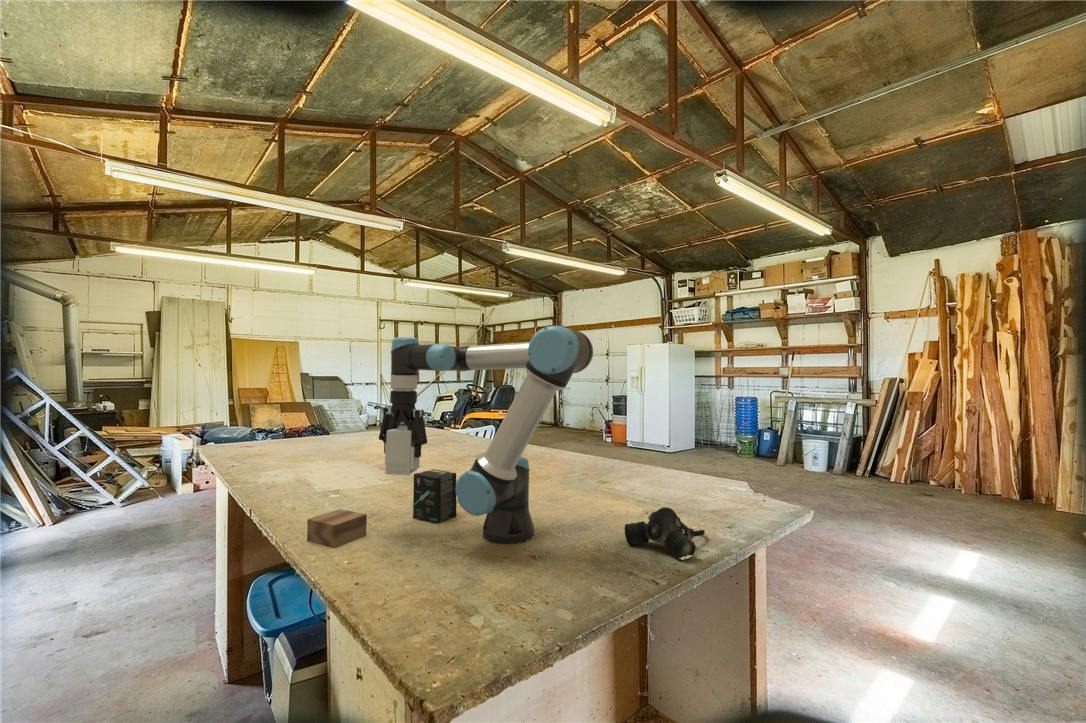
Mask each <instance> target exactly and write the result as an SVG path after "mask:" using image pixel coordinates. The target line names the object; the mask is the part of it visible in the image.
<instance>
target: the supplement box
mask: <svg viewBox="0 0 1086 723" xmlns="http://www.w3.org/2000/svg"><path fill="white" fill-rule="evenodd" d="M412 445H413V442H412V431H409V430H408V428H407V427H398V428H395V429H391V430H388V431H387V439H386V465H385V472H384V474H385V475H393V476H394V475H395V476H396V475H397V476H410V475H411V474H413V473H414V472H416V471H417V470H418V468H417V469H413V470H412V469H411V446H412Z"/></svg>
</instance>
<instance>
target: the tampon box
mask: <svg viewBox="0 0 1086 723" xmlns="http://www.w3.org/2000/svg"><path fill="white" fill-rule="evenodd" d="M456 483H457V472H453V471H447V470H440V469H430V470H429V469H428V470H425V471H422V472H418V473H417V472H416V473H414V474H413V495H412V496H413V497H412V498H413V499H412V500H413V502H412V506H413V507H412V508H413V509H412V519H415V520H420V521H424V522H428V523H432V524H439V523H441V522H445V521H448V520H450V519H453V518H456V517H457V516H458V514H457V495H456Z"/></svg>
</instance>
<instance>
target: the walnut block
mask: <svg viewBox="0 0 1086 723" xmlns="http://www.w3.org/2000/svg"><path fill="white" fill-rule="evenodd" d="M367 519H368V518H367V514H366V513H361V512H356V511H351V510H346V509H342V508H341V509H337V510H334V511H330V512H326V513H324V514H320V515H317V516H314V517H310V518H307V528H306V531H307V533H306V541H307V542H310V543H315V544H318V545H322V546H326V547H330V548H336V547H339V546H342V545H344V544H347V543H350V542H353V541H355V540H358V539H360V538H362V537H365V536H367V525H368V524H367Z"/></svg>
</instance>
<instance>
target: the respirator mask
mask: <svg viewBox="0 0 1086 723" xmlns="http://www.w3.org/2000/svg"><path fill="white" fill-rule="evenodd" d="M647 519H648V522H647V523H646V522H645V521H637V522H632V523H631V522H630V523H625V525H624V535H625V541H626V542H627V545H628V544H632V545H634V544H638V545H645V544H649V543H650V542H649V541H650V540H651V541H653V542H655V543H659V544H662V545H664V546H665V548H666V549H667V550H668V551H669V552H670V553H671V554H673V555H674V556H675V557H676V556H677V557H678V558H681V557H683V556H687V555H693V556H694V555H695V552H696V547H697V546H696V544H695V542H694V541H693V539H694V537H700V536H704V535H705V531H706V530H705V529H698V530H699V531H693V530H694V529H693V528H689V527H688V526H687V525H686V524H685V523H684V522H682V521H681V518H680V517H679V516H678V514H677V513H676V512H675V510H673V509H672V508H670V507H665V506H663V507H661V508H659V509H658V510H656V511H653V512H651V513H650V514H649V516H648V517H647ZM682 529H683V530H684V531H683V530H682ZM677 557H676V558H677ZM678 558H677V559H678Z"/></svg>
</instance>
